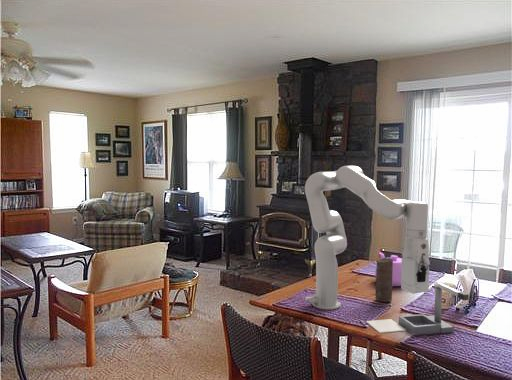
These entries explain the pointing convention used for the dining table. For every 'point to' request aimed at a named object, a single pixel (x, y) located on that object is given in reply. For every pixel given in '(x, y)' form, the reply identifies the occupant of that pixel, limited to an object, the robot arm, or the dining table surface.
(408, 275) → the supplement box
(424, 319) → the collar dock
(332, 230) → the robot arm
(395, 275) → the kettle
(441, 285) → the bar
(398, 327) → the tile pad
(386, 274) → the brown rectangular block
